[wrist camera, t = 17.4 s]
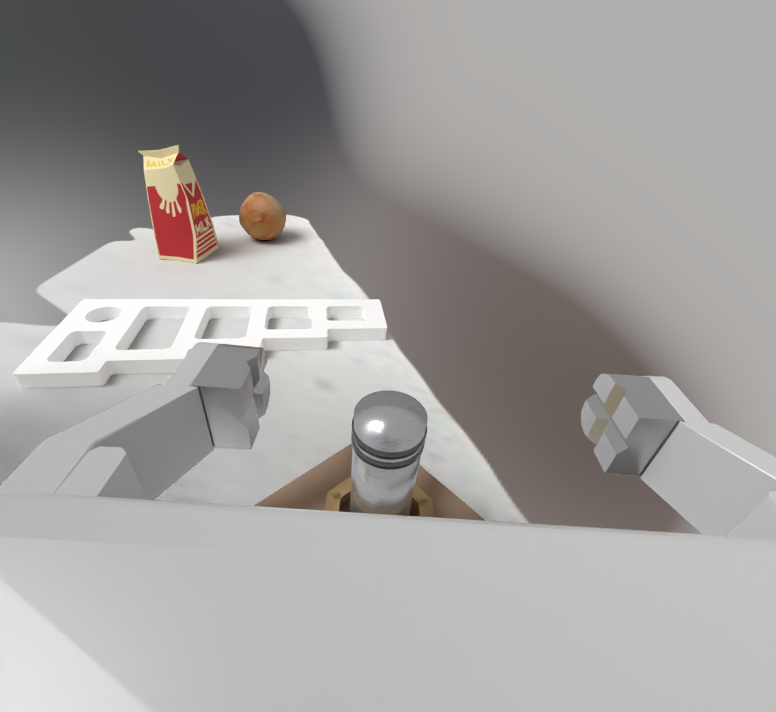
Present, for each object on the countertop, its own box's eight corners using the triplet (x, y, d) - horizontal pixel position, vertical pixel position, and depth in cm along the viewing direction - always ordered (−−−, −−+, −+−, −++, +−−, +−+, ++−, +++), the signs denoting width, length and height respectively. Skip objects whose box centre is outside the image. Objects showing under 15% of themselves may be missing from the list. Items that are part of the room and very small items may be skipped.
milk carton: (219, 247, 85) (201, 142, 74) (198, 264, 78) (174, 150, 66) (177, 242, 86) (153, 136, 74) (152, 258, 78) (121, 144, 67)
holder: (378, 313, 69) (379, 299, 68) (395, 380, 55) (397, 364, 53) (89, 314, 62) (83, 299, 60) (22, 392, 48) (11, 374, 46)
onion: (294, 243, 90) (291, 197, 85) (249, 249, 86) (243, 200, 80) (279, 229, 97) (275, 185, 91) (237, 234, 92) (230, 188, 86)
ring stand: (244, 519, 36) (240, 499, 35) (375, 434, 46) (376, 415, 44) (380, 708, 26) (383, 693, 25) (510, 550, 36) (519, 531, 34)
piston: (335, 535, 35) (336, 420, 26) (369, 493, 38) (379, 380, 30) (386, 570, 33) (404, 457, 24) (417, 522, 36) (441, 409, 28)
